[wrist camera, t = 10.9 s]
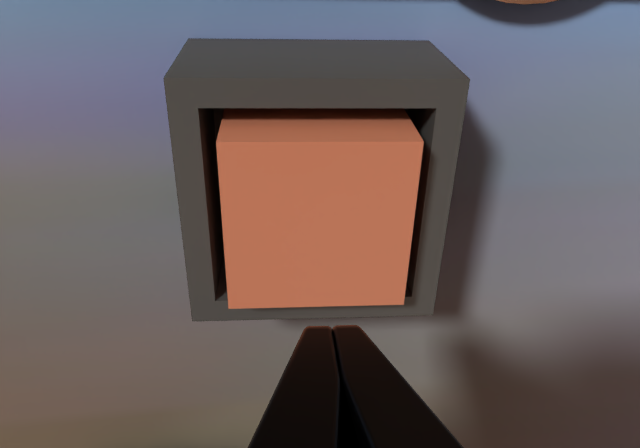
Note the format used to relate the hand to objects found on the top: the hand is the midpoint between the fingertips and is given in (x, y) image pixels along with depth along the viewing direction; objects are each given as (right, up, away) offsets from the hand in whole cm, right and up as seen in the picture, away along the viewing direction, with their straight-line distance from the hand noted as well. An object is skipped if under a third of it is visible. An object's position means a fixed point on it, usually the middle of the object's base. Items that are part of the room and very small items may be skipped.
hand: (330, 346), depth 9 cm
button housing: (0, +4, +7) cm, 8 cm away
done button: (0, +3, +5) cm, 5 cm away
